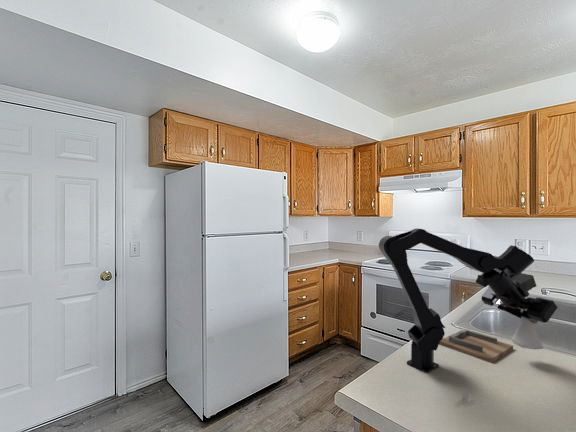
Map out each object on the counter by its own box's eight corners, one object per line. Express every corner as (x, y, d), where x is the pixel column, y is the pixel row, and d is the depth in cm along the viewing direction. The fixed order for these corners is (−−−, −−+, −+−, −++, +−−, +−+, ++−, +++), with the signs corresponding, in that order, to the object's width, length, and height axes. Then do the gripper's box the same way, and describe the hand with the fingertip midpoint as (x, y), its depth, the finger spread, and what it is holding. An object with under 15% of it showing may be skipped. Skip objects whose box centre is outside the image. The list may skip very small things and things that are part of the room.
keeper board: (491, 362, 89) (491, 353, 89) (438, 344, 102) (438, 336, 102) (513, 349, 98) (513, 340, 98) (461, 333, 111) (461, 326, 111)
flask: (549, 351, 85) (549, 316, 85) (520, 349, 86) (520, 315, 86) (532, 340, 92) (532, 308, 92) (506, 339, 94) (506, 307, 93)
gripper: (552, 270, 79) (582, 309, 82) (488, 260, 97) (514, 292, 100) (529, 302, 77) (560, 341, 80) (468, 286, 95) (496, 318, 98)
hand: (530, 320), depth 90 cm, fingers closed on flask, 3 cm apart
